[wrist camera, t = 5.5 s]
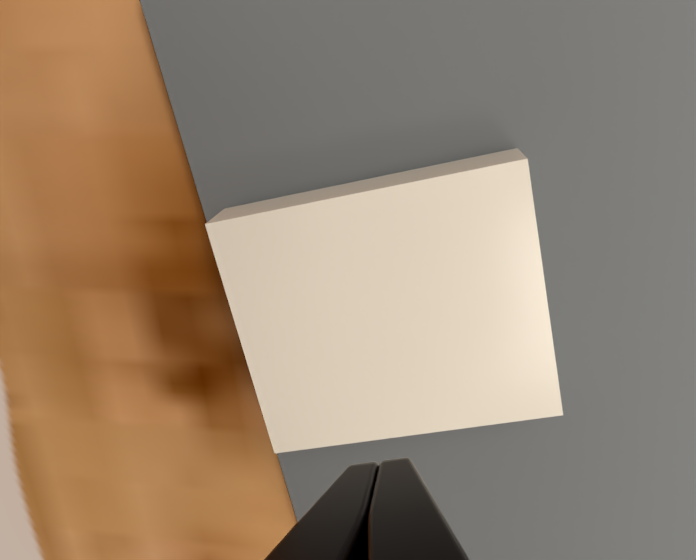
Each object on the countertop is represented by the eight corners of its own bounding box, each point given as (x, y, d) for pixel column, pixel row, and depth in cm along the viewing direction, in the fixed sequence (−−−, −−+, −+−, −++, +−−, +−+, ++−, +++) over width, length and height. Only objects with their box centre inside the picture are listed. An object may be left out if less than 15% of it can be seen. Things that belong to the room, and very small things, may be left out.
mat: (794, 561, 18) (804, 574, 17) (328, 602, 20) (325, 615, 20) (784, -177, 12) (798, -186, 12) (147, -2, 15) (138, -3, 14)
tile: (563, 415, 15) (274, 453, 16) (549, 379, 16) (288, 416, 18) (527, 158, 13) (204, 224, 14) (516, 146, 15) (227, 206, 16)
